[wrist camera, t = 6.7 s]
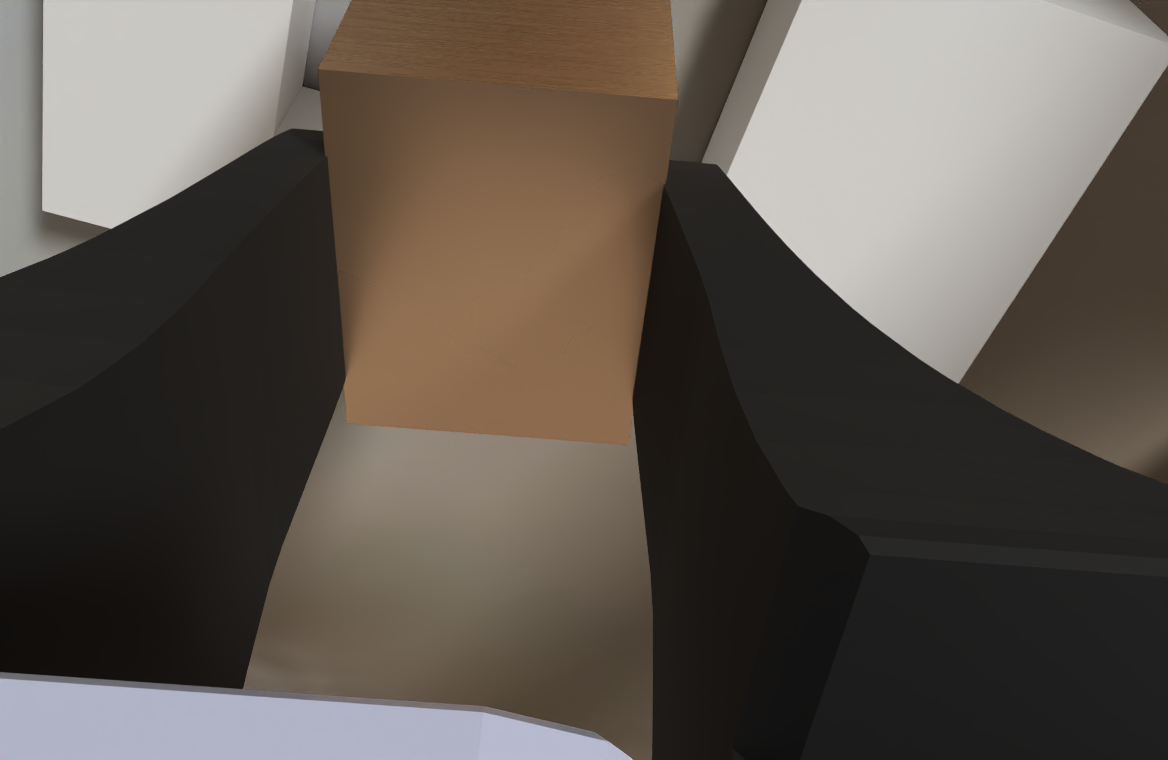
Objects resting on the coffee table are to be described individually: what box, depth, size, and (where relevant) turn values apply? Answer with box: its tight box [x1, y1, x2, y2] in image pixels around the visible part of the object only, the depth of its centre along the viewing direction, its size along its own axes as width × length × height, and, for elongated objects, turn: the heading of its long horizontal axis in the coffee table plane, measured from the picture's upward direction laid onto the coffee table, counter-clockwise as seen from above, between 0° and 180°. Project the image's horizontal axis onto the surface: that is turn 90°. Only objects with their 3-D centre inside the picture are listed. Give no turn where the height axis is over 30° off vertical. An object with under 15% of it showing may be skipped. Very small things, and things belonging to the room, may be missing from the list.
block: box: [318, 0, 678, 445], centre depth 12 cm, size 3×4×5 cm
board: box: [42, 0, 1168, 384], centre depth 18 cm, size 16×8×2 cm, turn 73°
